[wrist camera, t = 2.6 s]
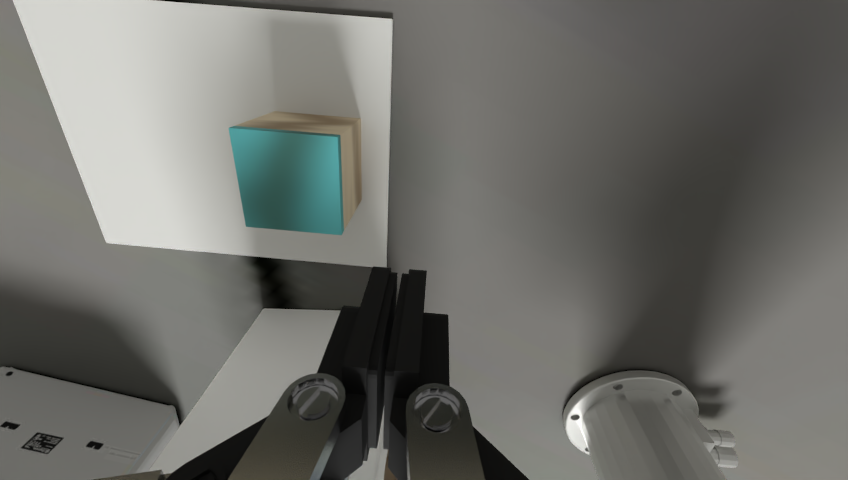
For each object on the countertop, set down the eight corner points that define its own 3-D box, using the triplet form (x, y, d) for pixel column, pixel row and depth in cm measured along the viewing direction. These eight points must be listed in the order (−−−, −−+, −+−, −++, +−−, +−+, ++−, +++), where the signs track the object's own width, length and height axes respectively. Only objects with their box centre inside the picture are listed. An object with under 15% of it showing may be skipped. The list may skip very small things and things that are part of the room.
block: (360, 118, 25) (337, 137, 20) (361, 199, 28) (341, 235, 23) (274, 111, 25) (228, 127, 20) (284, 192, 28) (245, 226, 23)
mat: (393, 19, 22) (392, 18, 22) (386, 266, 31) (386, 268, 31) (13, -11, 23) (8, -11, 23) (109, 241, 31) (106, 242, 31)
